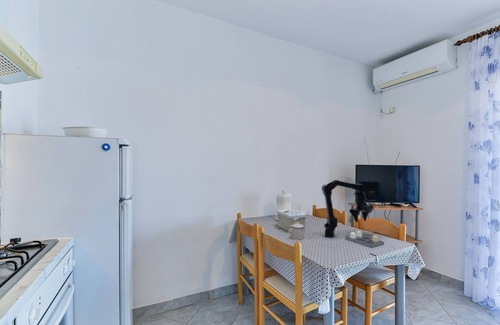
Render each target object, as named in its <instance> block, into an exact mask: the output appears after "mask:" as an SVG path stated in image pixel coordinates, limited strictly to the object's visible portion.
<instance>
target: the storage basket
mask: <svg viewBox="0 0 500 325" xmlns="http://www.w3.org/2000/svg"><path fill="white" fill-rule="evenodd" d="M276 213H277V225H278V227H279V228H281V229H282V230H285V231H286V232H288V233H289V230H290V229H292V225H294V224H296V223H297V222H299V224H301V225H303V226H304V231H305V229H306V228H305V227H306V218H307V213H305V212H302V211H300V210H296V209H293V208H286V209H285V208H284V209H278V210H277V212H276ZM290 233H292V230H291V231H290Z"/></svg>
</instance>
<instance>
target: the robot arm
mask: <svg viewBox="0 0 500 325" xmlns="http://www.w3.org/2000/svg"><path fill="white" fill-rule="evenodd" d="M336 187H343V188H348V189H352V190H354V191H355V192H354V193H353V195H355V196H356V201H355V204H356V206H355V208H350V209H349V213H350V214H351V216H352V217H353V219H354V221H355V223H358V222H359V216H360V213H362V214H361V215H362V217H363V221H364V222H366V221H367V218H368V215H369V214H371V213H373V211H374V205H373V204H370V205H368V203H367V202H368V201H370V202H371V201H372V202H373V201H374V202H376V201H377V195H376V192H375V191H369V190H368V189H367V186H366V185H365V184H362V183H352V182H351V183H350V182H348V181H347V182H346V181H341V180H338V179H334V180H333V181H331V182H328V183H327V184H323V185H322V186H321V191H322V194H323V196H324V199H325V206H326V212H327V218H326V223H325V224H323V226H324V237H325V238H327V239H329V238H331V239H332V238H334V237H335V230H336V228H337V227H338V224H339V221H338V217H336V216H335V214H334V208H333V201H332V194H333V190H334V189H335V188H336ZM366 201H367V202H366Z"/></svg>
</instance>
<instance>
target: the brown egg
mask: <svg viewBox="0 0 500 325" xmlns="http://www.w3.org/2000/svg"><path fill="white" fill-rule="evenodd" d="M371 238H372V241H373V242H376V243H379V240H380V237H379V236H378V235H376V234H375V235H373V236H372V237H371Z"/></svg>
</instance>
